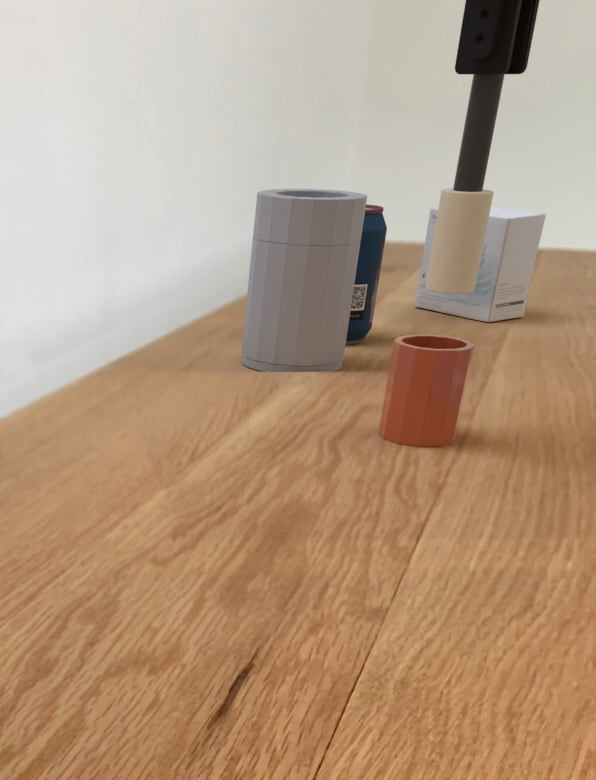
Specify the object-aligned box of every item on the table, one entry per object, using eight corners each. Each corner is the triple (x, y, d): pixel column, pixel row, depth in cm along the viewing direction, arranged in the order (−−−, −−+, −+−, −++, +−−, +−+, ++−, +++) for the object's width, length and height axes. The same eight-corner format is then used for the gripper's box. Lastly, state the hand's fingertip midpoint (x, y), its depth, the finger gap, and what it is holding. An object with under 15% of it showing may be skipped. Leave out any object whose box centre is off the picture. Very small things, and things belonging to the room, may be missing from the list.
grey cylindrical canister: (326, 353, 105) (349, 189, 98) (353, 375, 97) (380, 199, 90) (232, 353, 105) (248, 188, 97) (252, 375, 97) (271, 198, 90)
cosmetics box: (410, 307, 126) (428, 205, 120) (449, 302, 129) (467, 202, 123) (486, 323, 118) (509, 215, 113) (525, 317, 121) (549, 212, 116)
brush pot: (437, 432, 82) (457, 334, 79) (464, 453, 78) (485, 350, 74) (369, 433, 82) (385, 334, 78) (391, 453, 77) (409, 350, 74)
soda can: (287, 332, 113) (303, 202, 107) (349, 330, 114) (368, 202, 108) (316, 347, 107) (335, 210, 101) (382, 344, 109) (404, 209, 102)
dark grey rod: (463, 285, 76) (524, -35, 66) (481, 293, 73) (548, -39, 64) (417, 285, 76) (472, -35, 66) (434, 293, 73) (493, -39, 64)
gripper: (579, -390, 51) (496, 74, 61) (683, -314, 61) (598, 74, 71) (427, -353, 56) (371, 74, 65) (547, -288, 66) (484, 74, 75)
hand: (490, 71), depth 68 cm, fingers closed on dark grey rod
